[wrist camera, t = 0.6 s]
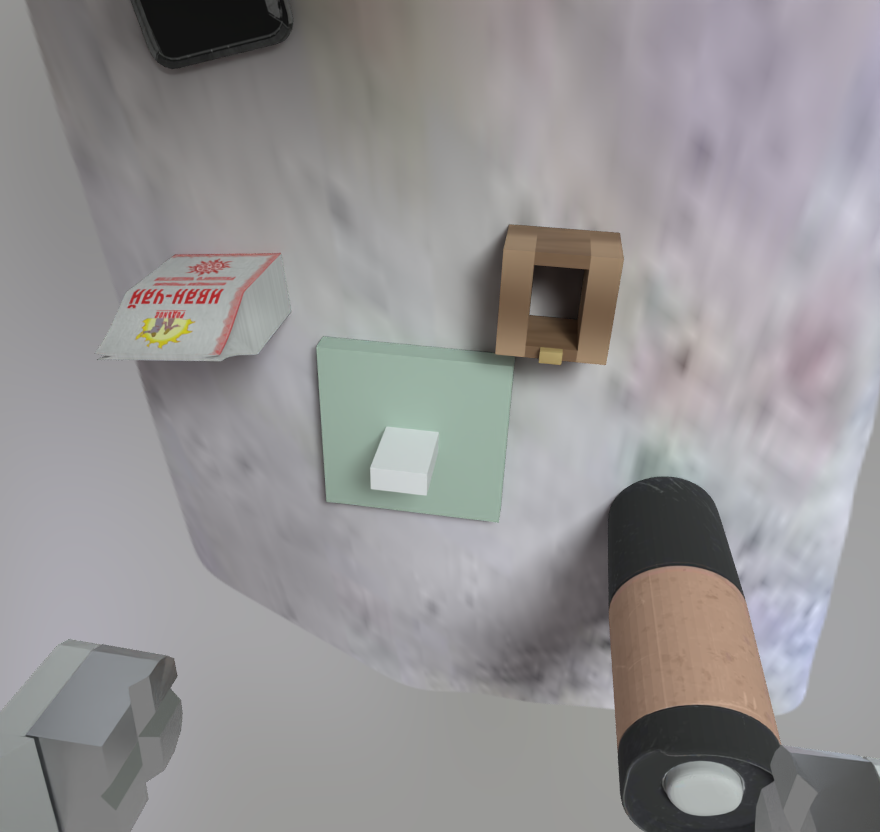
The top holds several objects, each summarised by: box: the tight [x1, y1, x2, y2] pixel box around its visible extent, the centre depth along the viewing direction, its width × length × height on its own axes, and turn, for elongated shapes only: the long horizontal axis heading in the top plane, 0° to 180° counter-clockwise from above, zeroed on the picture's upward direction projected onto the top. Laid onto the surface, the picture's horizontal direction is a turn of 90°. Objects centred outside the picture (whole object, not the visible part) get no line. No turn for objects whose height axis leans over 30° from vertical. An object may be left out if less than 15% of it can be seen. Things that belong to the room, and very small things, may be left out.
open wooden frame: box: [495, 224, 624, 365], centre depth 41 cm, size 6×6×4 cm
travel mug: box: [608, 477, 781, 832], centre depth 42 cm, size 8×8×20 cm
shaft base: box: [316, 336, 515, 523], centre depth 47 cm, size 12×12×6 cm
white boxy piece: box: [95, 253, 291, 361], centre depth 42 cm, size 4×7×10 cm, turn 94°
